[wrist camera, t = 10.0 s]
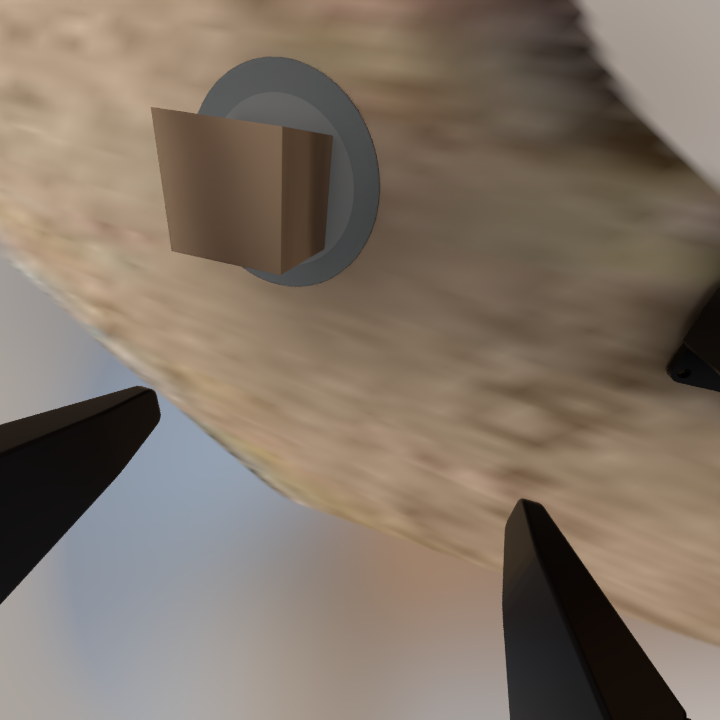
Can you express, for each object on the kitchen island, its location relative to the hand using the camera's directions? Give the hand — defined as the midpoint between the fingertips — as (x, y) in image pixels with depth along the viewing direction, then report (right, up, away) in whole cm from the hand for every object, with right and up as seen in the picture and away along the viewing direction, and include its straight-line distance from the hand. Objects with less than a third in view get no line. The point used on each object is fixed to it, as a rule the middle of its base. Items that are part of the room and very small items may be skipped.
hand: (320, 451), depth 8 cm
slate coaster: (-3, +11, +9) cm, 14 cm away
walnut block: (-3, +11, +9) cm, 14 cm away
